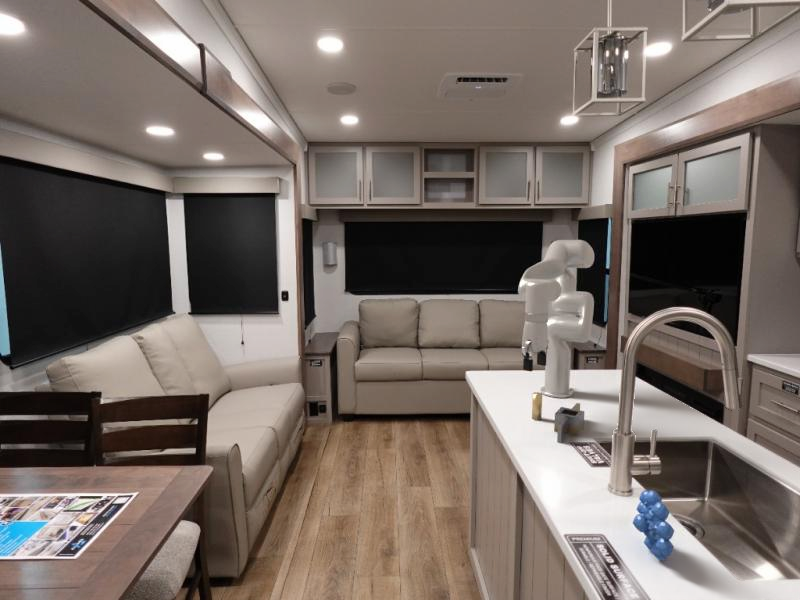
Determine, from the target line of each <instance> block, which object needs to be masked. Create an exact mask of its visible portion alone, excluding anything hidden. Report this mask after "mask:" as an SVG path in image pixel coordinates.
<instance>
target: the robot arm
mask: <svg viewBox="0 0 800 600" xmlns="http://www.w3.org/2000/svg"><path fill="white" fill-rule="evenodd" d="M594 261H595V252H594V250H593V247H592V246H591V245H590V244H589V243H588V242H587V241H586V240H582V239H557V240H554V241H552V243H551V244H550V245H549V247H548V249H547V251H546V253H545V255H544V258H543V260H541V261H540V262H537V263H535V264H534V265H532V266H530V267H528V268H526V270H525V271H524V273H523V275H522V277H521V278H520V281H519V284H518V289H517V294H518V295H519V297H520V298H521V299H523V300H525V305H524V306H525V307H524V308H525V309H524V310H525V311H524V312H525V313H524V325H523V331H522V332H523V333H522V339H521V354H522V360H523V364H522V369H523V371H525V372H526V371H527V372H533V371H534V359H533V357H534V354H536V365H538V366H543V367H545V369H544V386H542V387H540V393H542V395H545V396H547V397H552V398H555V399H556V398H560V399H566V398H570V397H572V396H573V395H574V391H573V390H572V389H570V381H571V380H570V379H571V378H570V377H571V358H572V357H571V355H572V353H571V348H570V347H569V345H568V344H567V342H575V343H587V342H588V341H589V340H590V339H591V334H592V325H593V317H594V309H595V307H594V306H595V300H594V296H593V294H592V293H590V292H589V291H588V292H587V291H580V290H579V291H578V290H577V277H575V275H574V273H573V272H572V271H571V270H570V268H575V269H577V268H578V269H588V268H591V266H593V264H594ZM550 302H551V309H552V311H553V312H554V313H556V314H559V315H554V316H553V315H552V316H550V317H549V315H550V314H549V310H550ZM560 314H561V315H571V316H561V315H560ZM572 315H573V316H579V317H573V316H572Z"/></svg>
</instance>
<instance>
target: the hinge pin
mask: <svg viewBox="0 0 800 600" xmlns="http://www.w3.org/2000/svg"><path fill="white" fill-rule="evenodd" d="M531 410H532V411H531V419H532V420H533V419H534V421H541V420H542V411H543V394H542V393H541V392H539V391H538V392H536V391H533V393H532V407H531Z"/></svg>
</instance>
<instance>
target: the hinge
mask: <svg viewBox="0 0 800 600" xmlns="http://www.w3.org/2000/svg"><path fill="white" fill-rule="evenodd" d="M553 425H554V427H553V428H554V430H553V431H554V432H555V431H556V433H557V435H556V436H557V437H556V438H557V439H556V442H557V443H559V444H562V443H563V441H564V440H565V439H566V437H567V436H568V435H570V436H573V437H579V436H580V435H581V433H582V432H583V430H585V429H584V428H585V411H584V410H581V403H579V402H576V403H575V404H574V405H573V407H572V408H569V407H564V406H560V407H559V409H558V410H557V411H555V413H554V424H553Z"/></svg>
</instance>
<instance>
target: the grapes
mask: <svg viewBox="0 0 800 600" xmlns="http://www.w3.org/2000/svg"><path fill="white" fill-rule="evenodd" d="M638 499H639V503H638V505H637V507H636V511H637V512H638V514H636V515H635V517H634V518H633V521H632V524H633V526H634V527H635V529H636V530H638V531H639V532H640V533H643V534H644V536H645V538H644V541H643V544H644V545H645V546H646V548H647V549H648V550H649V551H650V552H651V553H652V555H653V556H654V557H655V558H656V559H657V560H659V561H661V562H663V561H665V560H666V559H667V557H669V556H671V555H672V553H673V551H674V547H675V546H674V544H673V543H672V542H671V541H670V540H671V539H672V538H673V536H674V533H675V529H674V528H673V526H672V525H671V524H670V523H669V522H667V521H666V520H667V519H668V517H669V514H670V510H669V509H668V507H667V506H666V505H665V504H664V503H663V502H662V501H663V499H662V497H661V496H660V494H659V493H658V492H656V491H655V490H651V489H650V490H648V489H644V490H643V491H641V493H640V495H639V498H638Z"/></svg>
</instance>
